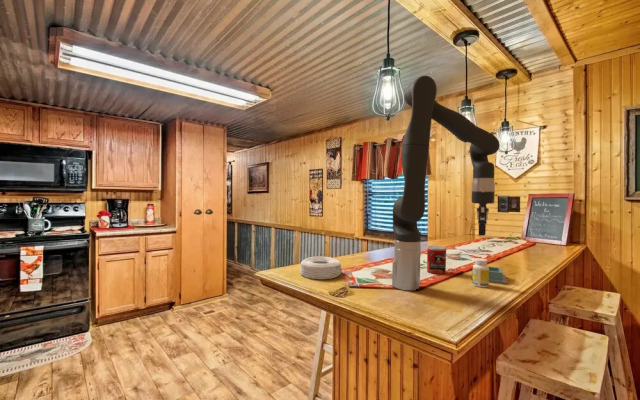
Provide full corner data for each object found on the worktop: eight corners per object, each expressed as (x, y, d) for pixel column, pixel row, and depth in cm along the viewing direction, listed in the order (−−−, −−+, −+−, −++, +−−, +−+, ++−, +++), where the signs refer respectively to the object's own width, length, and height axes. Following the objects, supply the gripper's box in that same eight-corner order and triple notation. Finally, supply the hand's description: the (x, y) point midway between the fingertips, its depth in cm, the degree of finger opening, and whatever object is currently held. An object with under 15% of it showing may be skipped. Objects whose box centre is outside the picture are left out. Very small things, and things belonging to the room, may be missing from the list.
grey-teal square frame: (471, 280, 119) (472, 270, 119) (472, 272, 130) (472, 263, 130) (507, 284, 114) (507, 274, 114) (504, 276, 124) (505, 267, 124)
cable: (322, 267, 138) (322, 254, 138) (350, 275, 125) (350, 261, 125) (291, 273, 126) (292, 259, 126) (319, 283, 114) (319, 267, 113)
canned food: (428, 274, 127) (429, 248, 127) (425, 269, 135) (425, 245, 135) (447, 275, 126) (448, 249, 126) (443, 270, 134) (443, 246, 133)
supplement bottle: (490, 285, 113) (491, 259, 113) (486, 288, 109) (487, 262, 109) (474, 282, 117) (475, 257, 116) (470, 285, 113) (471, 259, 112)
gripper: (472, 190, 120) (471, 231, 120) (471, 190, 107) (470, 235, 108) (493, 190, 116) (492, 232, 117) (495, 190, 104) (494, 237, 104)
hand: (481, 233), depth 112 cm, fingers open, 8 cm apart
